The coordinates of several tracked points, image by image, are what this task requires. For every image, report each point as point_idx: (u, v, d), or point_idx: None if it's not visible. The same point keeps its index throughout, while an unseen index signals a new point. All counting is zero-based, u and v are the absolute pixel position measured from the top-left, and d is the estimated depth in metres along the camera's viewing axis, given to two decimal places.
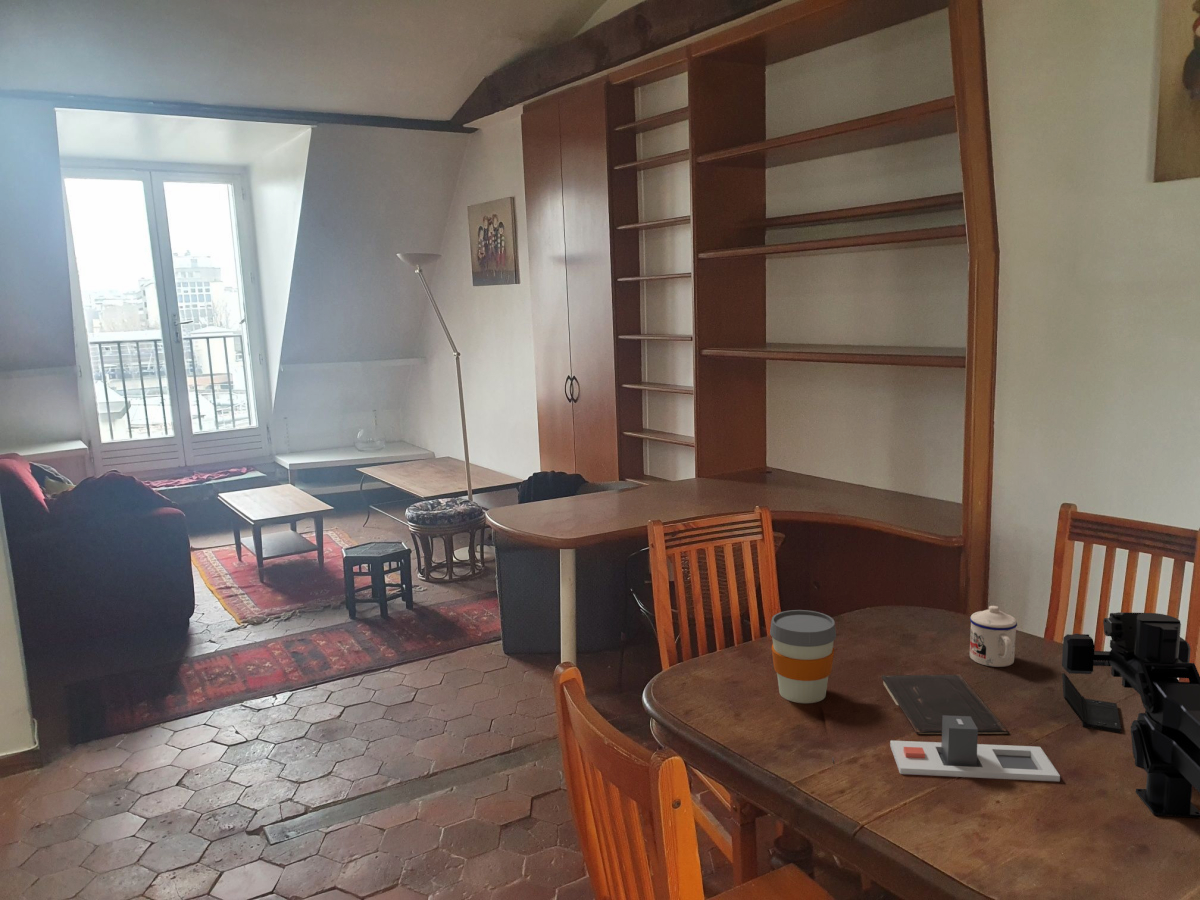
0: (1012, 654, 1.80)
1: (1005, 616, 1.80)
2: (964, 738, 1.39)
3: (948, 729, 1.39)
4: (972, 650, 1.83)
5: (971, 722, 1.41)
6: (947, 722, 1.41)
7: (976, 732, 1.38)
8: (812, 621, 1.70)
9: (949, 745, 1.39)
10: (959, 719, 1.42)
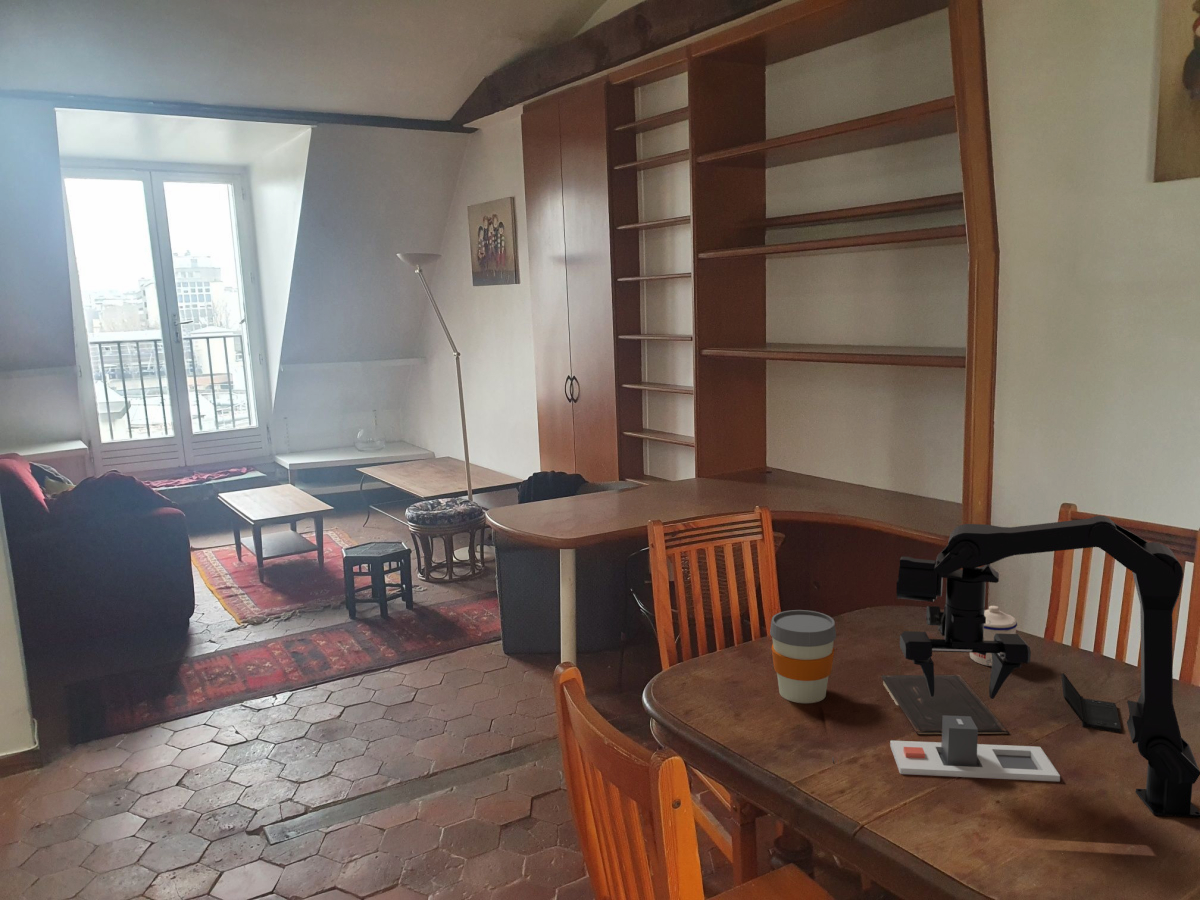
0: None
1: (1005, 616, 1.80)
2: (964, 738, 1.39)
3: (948, 729, 1.39)
4: None
5: (971, 722, 1.41)
6: (947, 722, 1.41)
7: (976, 732, 1.38)
8: (812, 621, 1.70)
9: (949, 745, 1.39)
10: (959, 719, 1.42)
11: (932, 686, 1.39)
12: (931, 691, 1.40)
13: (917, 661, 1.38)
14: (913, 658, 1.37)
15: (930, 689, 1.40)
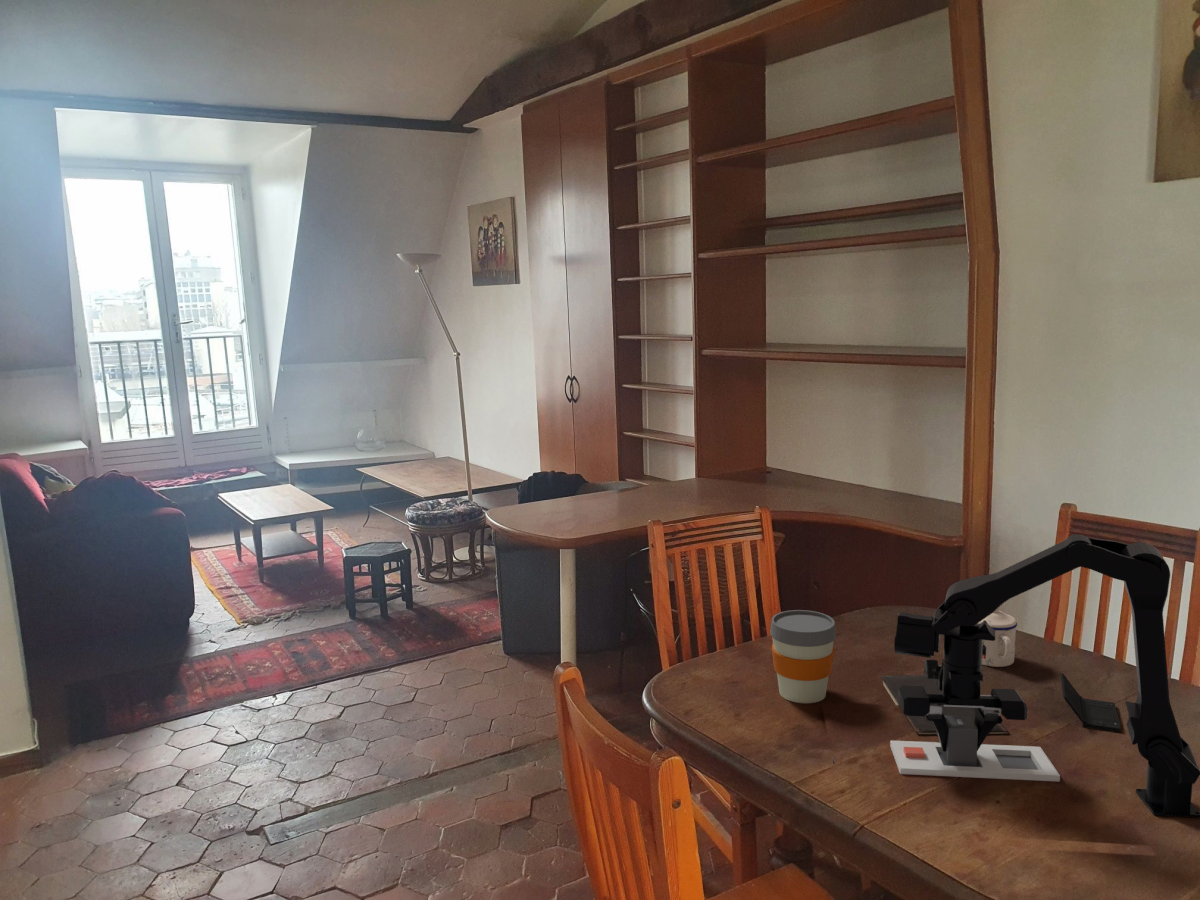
0: (1012, 654, 1.80)
1: (1005, 616, 1.80)
2: (964, 738, 1.39)
3: (948, 729, 1.39)
4: None
5: (971, 722, 1.41)
6: (947, 722, 1.41)
7: (976, 732, 1.38)
8: (812, 621, 1.70)
9: (949, 745, 1.39)
10: (959, 719, 1.42)
11: (944, 741, 1.40)
12: (943, 746, 1.41)
13: (929, 717, 1.39)
14: (911, 714, 1.39)
15: (942, 744, 1.41)
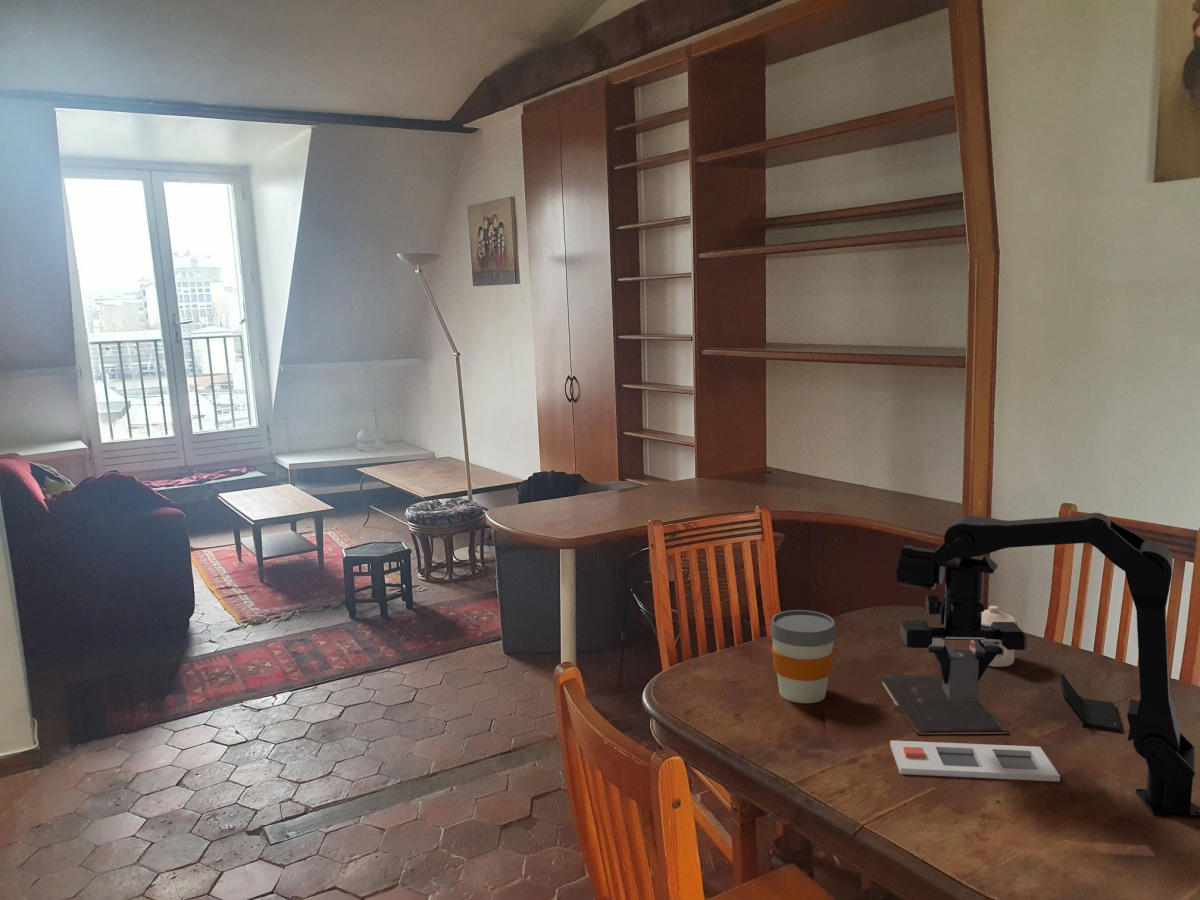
0: (1012, 654, 1.80)
1: (1005, 616, 1.80)
2: (966, 669, 1.42)
3: (950, 661, 1.42)
4: (972, 650, 1.83)
5: (972, 654, 1.44)
6: (949, 655, 1.44)
7: (977, 663, 1.41)
8: (812, 621, 1.70)
9: (951, 676, 1.42)
10: (960, 652, 1.45)
11: (946, 673, 1.43)
12: (945, 678, 1.44)
13: (932, 649, 1.42)
14: (914, 646, 1.41)
15: (944, 676, 1.44)
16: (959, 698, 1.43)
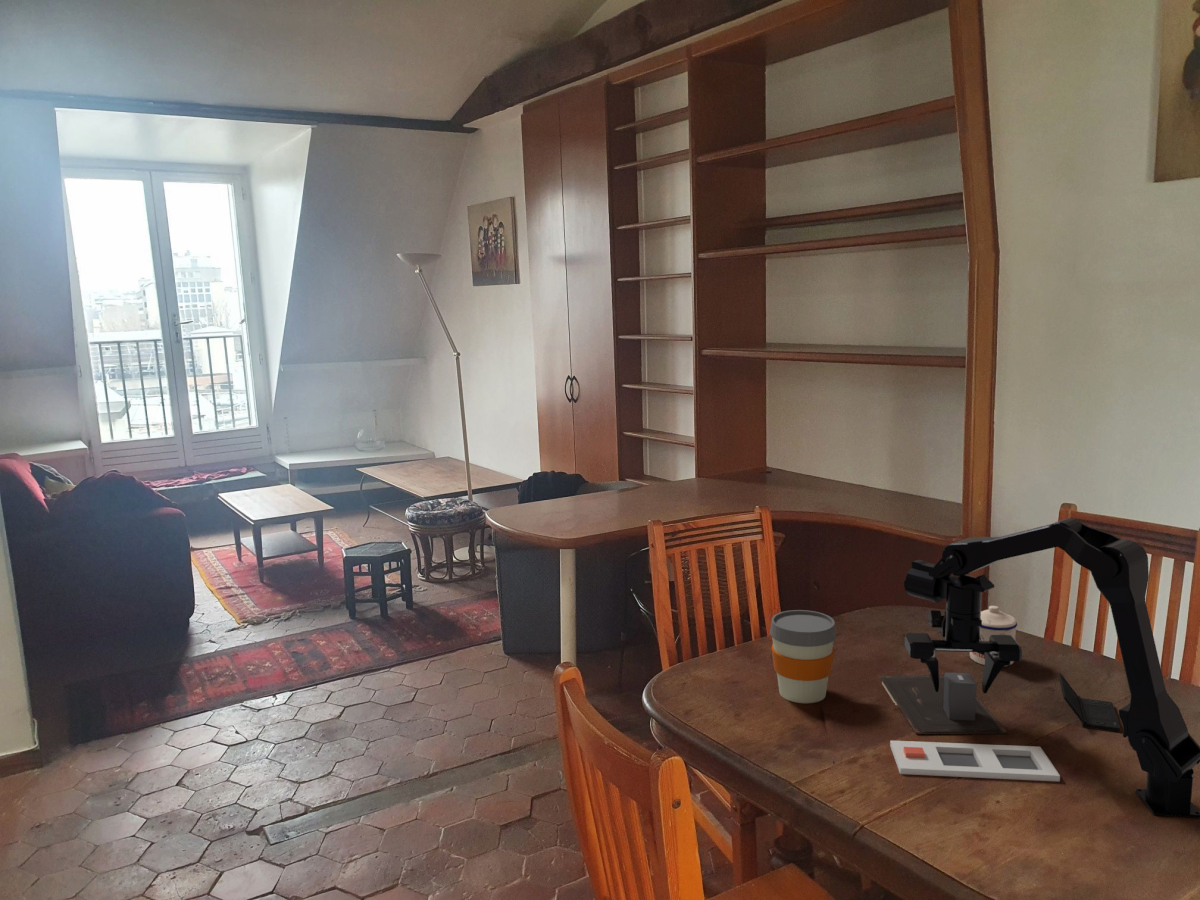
0: None
1: (1005, 616, 1.80)
2: (964, 692, 1.54)
3: (950, 684, 1.54)
4: None
5: (970, 678, 1.56)
6: (949, 678, 1.56)
7: (975, 686, 1.53)
8: (812, 621, 1.70)
9: (951, 698, 1.54)
10: (959, 675, 1.57)
11: (937, 682, 1.55)
12: (936, 687, 1.56)
13: (923, 660, 1.53)
14: (917, 657, 1.53)
15: (935, 685, 1.55)
16: (958, 718, 1.55)
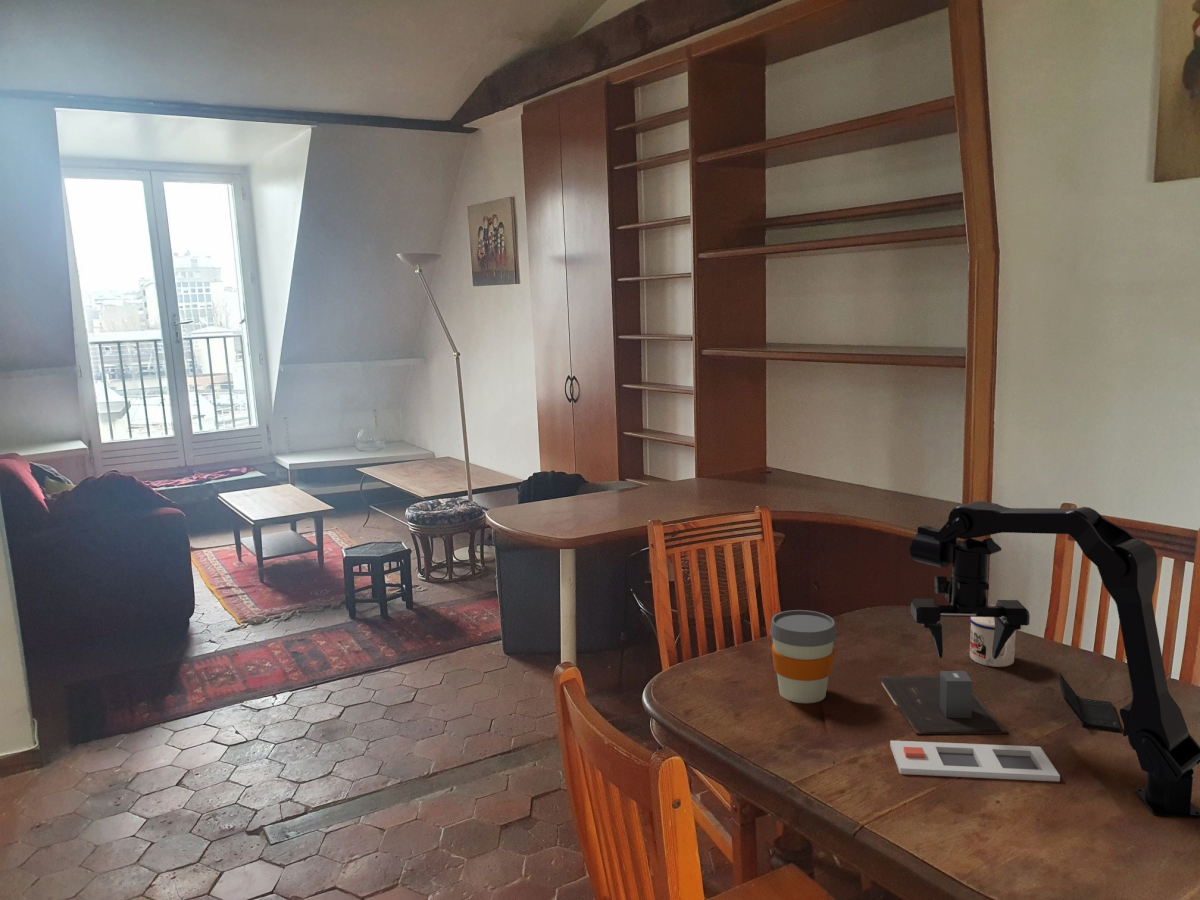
0: (1012, 654, 1.80)
1: None
2: (960, 689, 1.55)
3: (946, 682, 1.55)
4: (972, 650, 1.83)
5: (966, 675, 1.56)
6: (945, 676, 1.57)
7: (971, 684, 1.54)
8: (812, 621, 1.70)
9: (947, 696, 1.55)
10: (955, 673, 1.57)
11: (940, 648, 1.53)
12: (940, 652, 1.54)
13: (927, 625, 1.52)
14: (923, 622, 1.51)
15: (939, 651, 1.54)
16: (955, 716, 1.56)
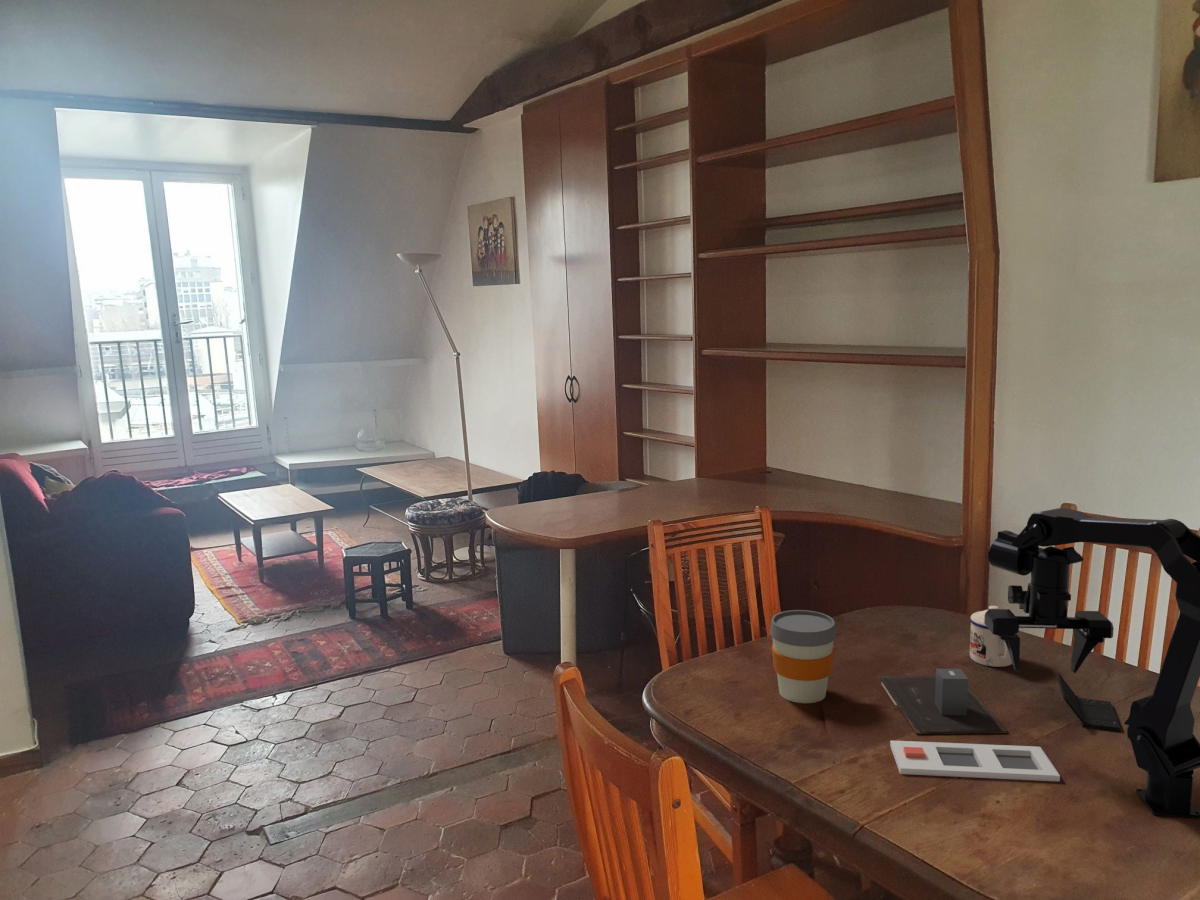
0: None
1: None
2: (956, 687, 1.56)
3: (942, 679, 1.56)
4: (972, 650, 1.83)
5: (962, 673, 1.57)
6: (941, 674, 1.58)
7: (967, 681, 1.55)
8: (812, 621, 1.70)
9: (943, 694, 1.56)
10: (951, 671, 1.58)
11: (1017, 661, 1.46)
12: (1016, 666, 1.47)
13: (1004, 637, 1.45)
14: (1000, 634, 1.44)
15: (1015, 664, 1.47)
16: (950, 713, 1.57)
